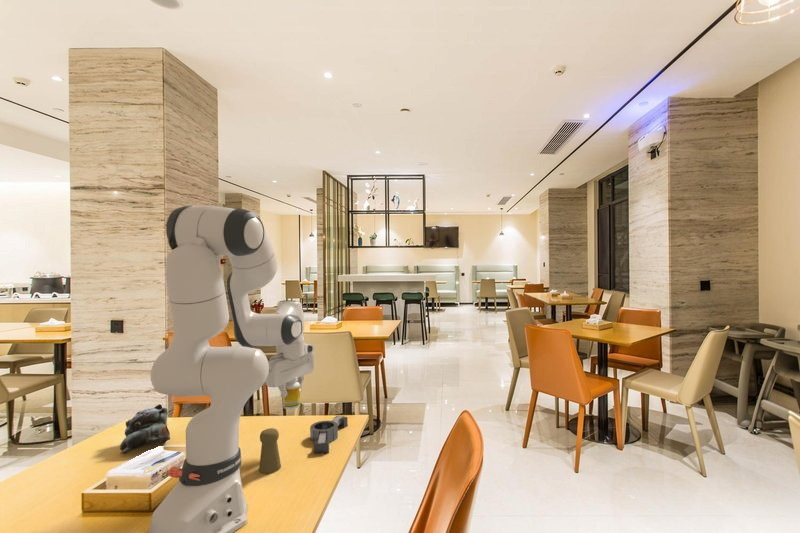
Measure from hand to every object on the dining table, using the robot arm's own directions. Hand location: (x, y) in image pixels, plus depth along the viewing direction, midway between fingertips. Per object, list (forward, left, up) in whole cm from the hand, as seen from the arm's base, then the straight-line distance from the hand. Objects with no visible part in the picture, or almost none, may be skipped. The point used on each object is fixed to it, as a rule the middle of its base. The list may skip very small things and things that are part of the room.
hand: (291, 393), depth 125 cm
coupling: (+10, -7, -17) cm, 21 cm away
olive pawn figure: (-13, -2, -18) cm, 22 cm away
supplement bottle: (0, 0, -4) cm, 4 cm away
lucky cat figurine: (-16, +47, -18) cm, 53 cm away
